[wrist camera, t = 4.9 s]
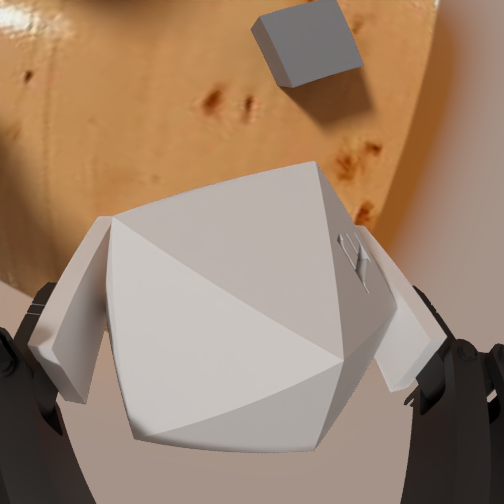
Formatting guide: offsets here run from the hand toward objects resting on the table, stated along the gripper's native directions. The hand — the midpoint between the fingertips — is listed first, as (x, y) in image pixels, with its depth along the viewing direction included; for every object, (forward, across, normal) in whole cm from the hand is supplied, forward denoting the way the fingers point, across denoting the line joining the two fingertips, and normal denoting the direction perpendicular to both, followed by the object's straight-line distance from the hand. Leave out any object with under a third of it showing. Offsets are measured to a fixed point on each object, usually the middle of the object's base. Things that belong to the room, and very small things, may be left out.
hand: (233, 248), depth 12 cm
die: (0, 0, 0) cm, 0 cm away
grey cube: (+13, +4, +10) cm, 17 cm away
